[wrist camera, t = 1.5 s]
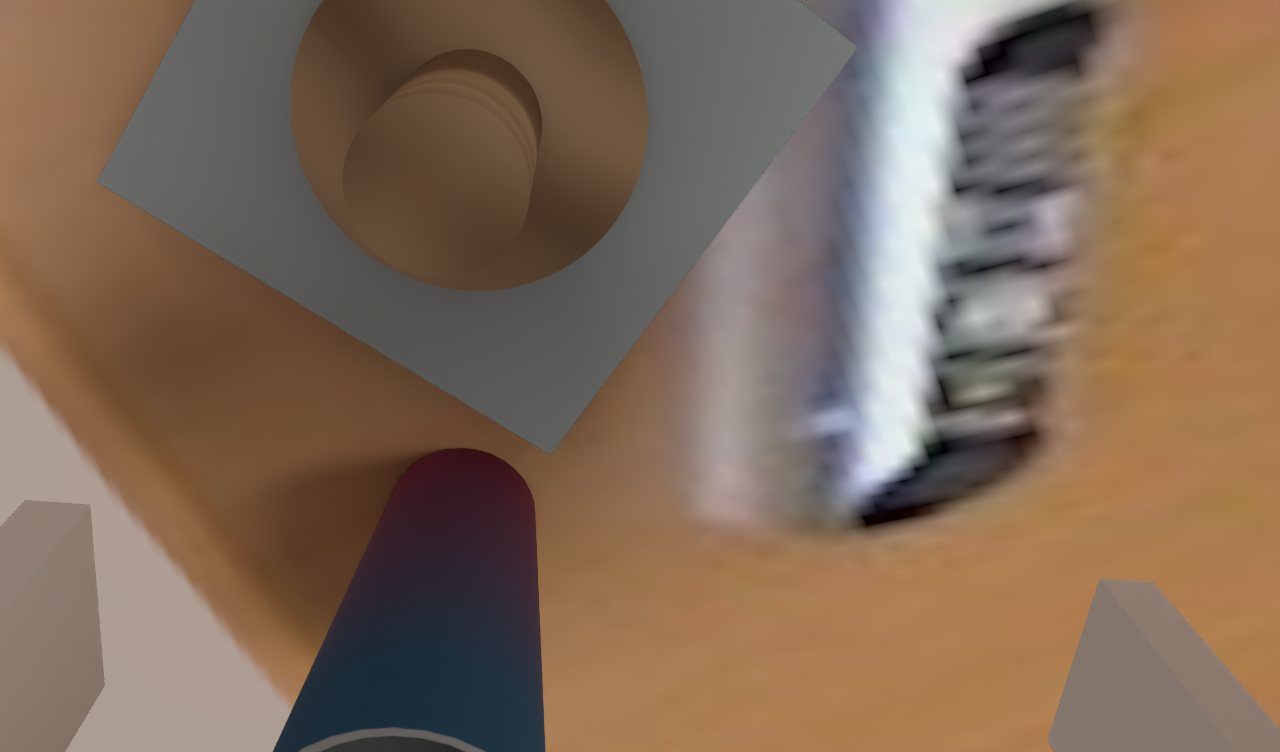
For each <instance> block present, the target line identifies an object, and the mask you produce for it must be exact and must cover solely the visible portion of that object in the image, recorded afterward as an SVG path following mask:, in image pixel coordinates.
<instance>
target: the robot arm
mask: <svg viewBox="0 0 1280 752" xmlns="http://www.w3.org/2000/svg"><path fill="white" fill-rule="evenodd" d="M103 688H104V672H103V660H102V647H101V635H100V622H99V610H98V598H97V586H96V573H95V561H94V549H93V536H92V525H91V511H90V505H86V504H72V503H58V502H44V501H31V500H25V501H24V502H23V503H22V504H21V505H20V506H19V507H18V509H17V510H16V511H15V512H14V513H13V514H12V515H11V516H10V517H9V518H8V520H7V521H6V522H5V523H4V524H3V525H2V526H1V527H0V752H65V751H66V749H67V747H68V746H69V744H70V742H71V741H72V739H73V737H74V736H75V734H76V732H77V731H78V729H79V727H80V726H81V724H82V723H83V721H84V719H85V717H86V716H87V714H88V713H89V711H90V709H91V707H92V706H93V704H94V702H95V701H96V699H97V697H98V696H99V694H100V693H101V691H102V689H103ZM1047 741H1048V742H1049V744H1050V746H1051V748H1052V749H1053V751H1054V752H1280V729H1279V727H1278V726H1277V725H1276V724H1275V723H1274V722H1273V720H1272V719H1271V718H1270V717H1269V716H1268V715H1267V713H1266V712H1265V711H1264V710H1263V709H1262V708H1261V707H1260V705H1259V704H1258V703H1257V702H1256V701H1255V700H1254V698H1253V697H1252V696H1251V695H1250V694H1249V693H1248V691H1247V690H1246V689H1245V688H1244V687H1243V686H1242V684H1241V683H1240V682H1239V681H1238V680H1237V679H1236V678H1235V676H1234V675H1233V674H1232V673H1231V672H1230V671H1229V669H1228V668H1227V667H1226V666H1225V665H1224V664H1223V662H1222V661H1221V660H1220V659H1219V658H1218V657H1217V655H1216V654H1215V653H1214V652H1213V651H1212V650H1211V649H1210V647H1209V646H1208V645H1207V644H1206V643H1205V642H1204V640H1203V639H1202V638H1201V637H1200V636H1199V635H1198V633H1197V632H1196V631H1195V630H1194V629H1193V628H1192V626H1191V625H1190V624H1189V623H1188V622H1187V621H1186V620H1185V618H1184V617H1183V616H1182V615H1181V614H1180V613H1179V611H1178V610H1177V609H1176V608H1175V607H1174V606H1173V604H1172V603H1171V602H1170V601H1169V600H1168V599H1167V597H1166V596H1165V595H1164V594H1163V593H1162V592H1161V591H1160V589H1159V588H1158V587H1157V586H1156V585H1155V584H1154V582H1141V581H1127V580H1114V579H1099V583H1098V586H1097V589H1096V592H1095V595H1094V598H1093V601H1092V604H1091V607H1090V610H1089V613H1088V616H1087V620H1086V623H1085V626H1084V629H1083V632H1082V635H1081V638H1080V641H1079V644H1078V647H1077V650H1076V653H1075V657H1074V660H1073V663H1072V666H1071V669H1070V672H1069V675H1068V678H1067V681H1066V684H1065V687H1064V690H1063V694H1062V697H1061V700H1060V703H1059V706H1058V709H1057V712H1056V715H1055V718H1054V721H1053V724H1052V727H1051V731H1050V734H1049V737H1048V740H1047Z"/></svg>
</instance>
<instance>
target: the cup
mask: <svg viewBox="0 0 1280 752" xmlns="http://www.w3.org/2000/svg"><path fill="white" fill-rule="evenodd" d="M273 752H545V732H544V708H543V685H542V661H541V638H540V614H539V591H538V567H537V544H536V520H535V507H534V501H533V498H532V495H531V491H530V489H529V488H528V486H527V484H526V482H525V481H524V479H523V478H522V477H521V476H520V475H519V474H518V472H517V471H516V470H515V469H514V468H512V467H511V466H510V465H508V464H507V463H506V462H504V461H503V460H501V459H499V458H497V457H495V456H493V455H491V454H488V453H484V452H481V451H477V450H470V449H449V450H444V451H440V452H436V453H433V454H431V455H428V456H426V457H424V458H422V459H420V460H419V461H417V462H416V463H415V464H413V465H412V466H410V467H409V468H408V469H407V471H406V472H405V473H404V474H403V475H402V476H401V477H400V479H399V481H398V483H397V484H396V486H395V488H394V490H393V492H392V494H391V497H390V499H389V501H388V503H387V505H386V507H385V510H384V512H383V514H382V516H381V518H380V520H379V523H378V525H377V527H376V529H375V531H374V533H373V536H372V538H371V540H370V542H369V544H368V546H367V549H366V551H365V553H364V555H363V557H362V559H361V562H360V564H359V566H358V568H357V570H356V572H355V575H354V577H353V579H352V581H351V583H350V585H349V588H348V590H347V592H346V594H345V596H344V598H343V601H342V603H341V605H340V607H339V609H338V611H337V614H336V616H335V618H334V620H333V622H332V624H331V627H330V629H329V631H328V633H327V635H326V637H325V640H324V642H323V644H322V646H321V648H320V650H319V653H318V655H317V657H316V659H315V661H314V663H313V666H312V668H311V670H310V672H309V674H308V676H307V679H306V681H305V683H304V685H303V687H302V689H301V692H300V694H299V696H298V698H297V700H296V702H295V705H294V707H293V709H292V711H291V713H290V715H289V718H288V720H287V722H286V724H285V726H284V729H283V731H282V733H281V735H280V737H279V740H278V741H277V744H276V746H275V748H274V750H273Z"/></svg>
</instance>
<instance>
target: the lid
mask: <svg viewBox="0 0 1280 752" xmlns="http://www.w3.org/2000/svg"><path fill="white" fill-rule="evenodd" d="M290 111H291V123H292V132H293V136H294V141H295V145H296V150H297V154H298V157H299V159H300V162H301V165H302V168H303V171H304V173H305V176H306V178H307V180H308V182H309V184H310V186H311V188H312V190H313V192H314V194H315V196H316V197H317V199H318V200H319V202H320V203H321V205H322V206H323V208H324V209H325V211H326V212H327V214H328V215H329V217H330V218H331V219H332V220H333V221H334V222H335V224H336V225H337V226H338V227H339V228H340V229H341V231H342V232H343V233H344V234H345V235H346V236H347V237H348V238H350V239H351V240H352V241H353V242H354V243H355V244H356V245H357V246H358V247H359V248H360V249H362V250H363V251H364V252H366V253H367V254H369V255H370V256H371V257H373V258H374V259H376V260H377V261H379V262H380V263H382V264H384V265H385V266H387V267H389V268H391V269H393V270H395V271H396V272H398V273H400V274H403V275H405V276H408V277H410V278H413V279H415V280H418V281H420V282H423V283H427V284H431V285H435V286H438V287H442V288H449V289H456V290H464V291H490V290H500V289H508V288H513V287H517V286H521V285H525V284H529V283H532V282H535V281H537V280H540V279H542V278H545V277H548V276H550V275H552V274H554V273H556V272H558V271H560V270H561V269H563V268H565V267H567V266H569V265H570V264H572V263H573V262H574V261H576V260H577V259H579V258H580V257H581V256H583V255H584V254H586V253H587V252H588V251H589V250H590V249H591V248H592V247H593V246H594V245H595V244H596V243H598V242H599V241H600V240H601V239H602V238H603V237H604V235H605V234H606V233H607V232H608V230H609V229H610V228H611V227H612V226H613V224H614V223H615V222H616V220H617V219H618V217H619V216H620V214H621V212H622V211H623V209H624V208H625V206H626V204H627V203H628V201H629V198H630V196H631V194H632V192H633V190H634V187H635V185H636V183H637V180H638V177H639V173H640V170H641V167H642V164H643V160H644V154H645V148H646V142H647V126H648V111H647V101H646V91H645V87H644V82H643V78H642V73H641V69H640V66H639V63H638V60H637V58H636V55H635V52H634V50H633V47H632V44H631V41H630V39H629V37H628V35H627V34H626V32H625V30H624V28H623V26H622V24H621V22H620V20H619V19H618V17H617V16H616V14H615V13H614V11H613V10H612V8H611V7H610V6H609V4H608V3H607V1H606V0H323V1H322V3H321V4H320V6H319V7H318V9H317V10H316V12H315V13H314V15H313V16H312V18H311V20H310V23H309V25H308V27H307V29H306V31H305V33H304V35H303V37H302V40H301V43H300V46H299V49H298V52H297V55H296V58H295V63H294V69H293V75H292V80H291V96H290Z"/></svg>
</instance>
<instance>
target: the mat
mask: <svg viewBox="0 0 1280 752" xmlns="http://www.w3.org/2000/svg"><path fill="white" fill-rule="evenodd" d="M322 1H323V0H195V1H194V3H193V5H192V6H191V8H190V10H189V12H188V14H187V16H186V18H185V19H184V21H183V23H182V25H181V27H180V29H179V31H178V32H177V34H176V36H175V38H174V40H173V42H172V43H171V45H170V47H169V49H168V51H167V53H166V55H165V56H164V58H163V60H162V62H161V64H160V66H159V68H158V69H157V71H156V73H155V75H154V77H153V79H152V81H151V82H150V84H149V86H148V88H147V90H146V92H145V93H144V95H143V97H142V99H141V101H140V103H139V105H138V106H137V108H136V110H135V112H134V114H133V116H132V118H131V119H130V121H129V123H128V125H127V127H126V129H125V130H124V132H123V134H122V136H121V138H120V140H119V142H118V143H117V145H116V147H115V149H114V151H113V153H112V155H111V156H110V158H109V160H108V162H107V164H106V166H105V167H104V169H103V171H102V173H101V175H100V177H99V179H98V180H97V183H99V184H101V185H102V186H104V187H106V188H107V189H109V190H110V191H112V192H114V193H115V194H117V195H119V196H120V197H122V198H124V199H125V200H127V201H129V202H130V203H132V204H134V205H135V206H137V207H139V208H140V209H142V210H144V211H145V212H147V213H149V214H150V215H152V216H154V217H155V218H157V219H159V220H160V221H162V222H164V223H165V224H167V225H169V226H170V227H172V228H174V229H175V230H177V231H179V232H180V233H182V234H184V235H185V236H187V237H189V238H190V239H192V240H194V241H195V242H197V243H199V244H200V245H202V246H204V247H205V248H207V249H209V250H210V251H212V252H214V253H215V254H217V255H218V256H220V257H222V258H223V259H225V260H227V261H228V262H230V263H232V264H233V265H235V266H237V267H238V268H240V269H242V270H243V271H245V272H247V273H248V274H250V275H252V276H253V277H255V278H257V279H258V280H260V281H262V282H263V283H265V284H267V285H268V286H270V287H272V288H273V289H275V290H277V291H278V292H280V293H282V294H283V295H285V296H287V297H288V298H290V299H292V300H293V301H295V302H297V303H298V304H300V305H302V306H303V307H305V308H307V309H308V310H310V311H312V312H313V313H315V314H317V315H318V316H320V317H322V318H323V319H325V320H326V321H328V322H330V323H331V324H333V325H335V326H336V327H338V328H340V329H341V330H343V331H345V332H346V333H348V334H350V335H351V336H353V337H355V338H356V339H358V340H360V341H361V342H363V343H365V344H366V345H368V346H370V347H371V348H373V349H375V350H376V351H378V352H380V353H381V354H383V355H385V356H386V357H388V358H390V359H391V360H393V361H395V362H396V363H398V364H400V365H401V366H403V367H405V368H406V369H408V370H410V371H411V372H413V373H415V374H416V375H418V376H420V377H421V378H423V379H425V380H426V381H428V382H430V383H431V384H433V385H434V386H436V387H438V388H439V389H441V390H443V391H444V392H446V393H448V394H449V395H451V396H453V397H454V398H456V399H458V400H459V401H461V402H463V403H464V404H466V405H468V406H469V407H471V408H473V409H474V410H476V411H478V412H479V413H481V414H483V415H484V416H486V417H488V418H489V419H491V420H493V421H494V422H496V423H498V424H499V425H501V426H503V427H504V428H506V429H508V430H509V431H511V432H513V433H514V434H516V435H518V436H519V437H521V438H523V439H524V440H526V441H528V442H529V443H531V444H533V445H534V446H536V447H538V448H539V449H541V450H543V451H544V452H546V453H547V454H549V455H551V454H552V452H553V451H554V450H555V448H556V447H557V446H558V444H559V443H560V442H561V440H562V439H563V438H564V436H565V435H566V434H567V432H568V431H569V430H570V428H571V427H572V426H573V424H574V423H575V422H576V420H577V419H578V418H579V417H580V415H581V414H582V413H583V411H584V410H585V409H586V407H587V406H588V405H589V403H590V402H591V401H592V399H593V398H594V397H595V395H596V394H597V393H598V391H599V390H600V389H601V387H602V386H603V385H604V383H605V382H606V381H607V379H608V378H609V377H610V375H611V374H612V373H613V371H614V370H615V369H616V368H617V366H618V365H619V364H620V362H621V361H622V360H623V358H624V357H625V356H626V354H627V353H628V352H629V350H630V349H631V348H632V346H633V345H634V344H635V342H636V341H637V340H638V338H639V337H640V336H641V334H642V333H643V332H644V330H645V329H646V328H647V326H648V325H649V324H650V322H651V321H652V320H653V319H654V317H655V316H656V315H657V313H658V312H659V311H660V309H661V308H662V307H663V305H664V304H665V303H666V301H667V300H668V299H669V297H670V296H671V295H672V293H673V292H674V291H675V289H676V288H677V287H678V285H679V284H680V283H681V281H682V280H683V279H684V277H685V276H686V275H687V273H688V272H689V271H690V270H691V268H692V267H693V266H694V264H695V263H696V262H697V260H698V259H699V258H700V256H701V255H702V254H703V252H704V251H705V250H706V248H707V247H708V246H709V244H710V243H711V242H712V240H713V239H714V238H715V236H716V235H717V234H718V232H719V231H720V230H721V228H722V227H723V226H724V224H725V223H726V222H727V221H728V219H729V218H730V217H731V215H732V214H733V213H734V211H735V210H736V209H737V207H738V206H739V205H740V203H741V202H742V201H743V199H744V198H745V197H746V195H747V194H748V193H749V191H750V190H751V189H752V187H753V186H754V185H755V183H756V182H757V181H758V179H759V178H760V177H761V175H762V174H763V173H764V172H765V170H766V169H767V168H768V166H769V165H770V164H771V162H772V161H773V160H774V158H775V157H776V156H777V154H778V153H779V152H780V150H781V149H782V148H783V146H784V145H785V144H786V142H787V141H788V140H789V138H790V137H791V136H792V134H793V133H794V132H795V130H796V129H797V128H798V126H799V125H800V124H801V123H802V121H803V120H804V119H805V117H806V116H807V115H808V113H809V112H810V111H811V109H812V108H813V107H814V105H815V104H816V103H817V101H818V100H819V99H820V97H821V96H822V95H823V93H824V92H825V91H826V89H827V88H828V87H829V85H830V84H831V83H832V81H833V80H834V79H835V77H836V76H837V75H838V74H839V72H840V71H841V70H842V68H843V67H844V66H845V64H846V63H847V62H848V60H849V59H850V58H851V56H852V55H853V54H854V52H855V51H856V50H857V48H858V47H857V46H856V45H855V44H853V43H852V42H851V41H849V40H848V39H847V38H846V37H844V36H843V35H842V34H841V33H839V32H838V31H837V30H835V29H834V28H833V27H832V26H830V25H829V24H828V23H827V22H825V21H824V20H823V19H821V18H820V17H819V16H818V15H816V14H815V13H814V12H813V11H811V10H810V9H809V8H808V7H806V6H805V5H804V4H802V3H801V2H800V1H799V0H606V1H607V3H608V4H609V6H610V7H611V8H612V10H613V11H614V13H615V14H616V16H617V17H618V19H619V20H620V22H621V24H622V26H623V28H624V30H625V32H626V34H627V35H628V37H629V39H630V41H631V44H632V47H633V50H634V52H635V55H636V58H637V60H638V63H639V66H640V69H641V73H642V78H643V82H644V87H645V91H646V101H647V111H648V126H647V142H646V148H645V154H644V160H643V164H642V167H641V170H640V173H639V177H638V180H637V183H636V185H635V187H634V190H633V192H632V194H631V196H630V198H629V201H628V203H627V204H626V206H625V208H624V209H623V211H622V212H621V214H620V216H619V217H618V219H617V220H616V222H615V223H614V224H613V226H612V227H611V228H610V229H609V230H608V232H607V233H606V234H605V235H604V237H603V238H602V239H601V240H600V241H599V242H598V243H596V244H595V245H594V246H593V247H592V248H591V249H590V250H589V251H588V252H587V253H586V254H584V255H583V256H581V257H580V258H579V259H577V260H576V261H574V262H573V263H572V264H570V265H569V266H567V267H565V268H563V269H561V270H560V271H558V272H556V273H554V274H552V275H550V276H548V277H545V278H542V279H540V280H537V281H535V282H532V283H529V284H525V285H521V286H517V287H513V288H508V289H500V290H490V291H464V290H456V289H449V288H442V287H438V286H435V285H431V284H427V283H423V282H420V281H418V280H415V279H413V278H410V277H408V276H405V275H403V274H400V273H398V272H396V271H395V270H393V269H391V268H389V267H387V266H385V265H384V264H382V263H380V262H379V261H377V260H376V259H374V258H373V257H371V256H370V255H369V254H367V253H366V252H364V251H363V250H362V249H360V248H359V247H358V246H357V245H356V244H355V243H354V242H353V241H352V240H351V239H350V238H348V237H347V236H346V235H345V234H344V233H343V232H342V231H341V229H340V228H339V227H338V226H337V225H336V224H335V222H334V221H333V220H332V219H331V218H330V217H329V215H328V214H327V212H326V211H325V209H324V208H323V206H322V205H321V203H320V202H319V200H318V199H317V197H316V196H315V194H314V192H313V190H312V188H311V186H310V184H309V182H308V180H307V178H306V176H305V173H304V171H303V168H302V165H301V162H300V159H299V157H298V154H297V150H296V145H295V141H294V136H293V132H292V123H291V111H290V96H291V80H292V75H293V69H294V63H295V58H296V55H297V52H298V49H299V46H300V43H301V40H302V37H303V35H304V33H305V31H306V29H307V27H308V25H309V23H310V20H311V18H312V16H313V15H314V13H315V12H316V10H317V9H318V7H319V6H320V4H321V3H322Z"/></svg>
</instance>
